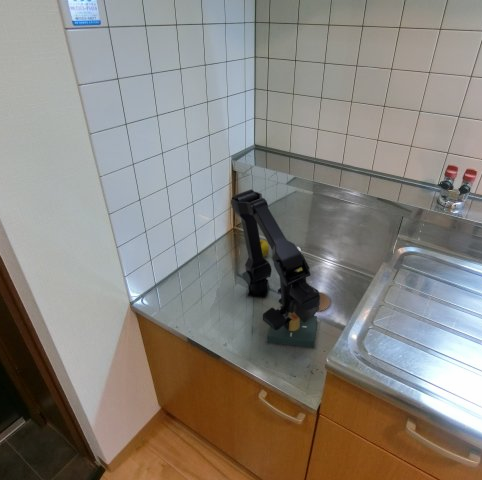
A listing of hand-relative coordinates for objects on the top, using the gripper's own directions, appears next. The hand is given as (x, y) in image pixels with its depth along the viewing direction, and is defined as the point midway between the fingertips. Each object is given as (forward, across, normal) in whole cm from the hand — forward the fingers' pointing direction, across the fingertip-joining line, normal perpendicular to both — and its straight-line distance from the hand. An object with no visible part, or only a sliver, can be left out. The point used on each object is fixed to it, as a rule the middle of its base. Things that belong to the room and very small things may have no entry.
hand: (292, 324), depth 115 cm
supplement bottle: (+4, +22, +20) cm, 30 cm away
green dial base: (+4, 0, 0) cm, 4 cm away
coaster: (+4, +15, +4) cm, 16 cm away
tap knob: (0, 0, 0) cm, 0 cm away
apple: (+4, +19, +36) cm, 41 cm away
